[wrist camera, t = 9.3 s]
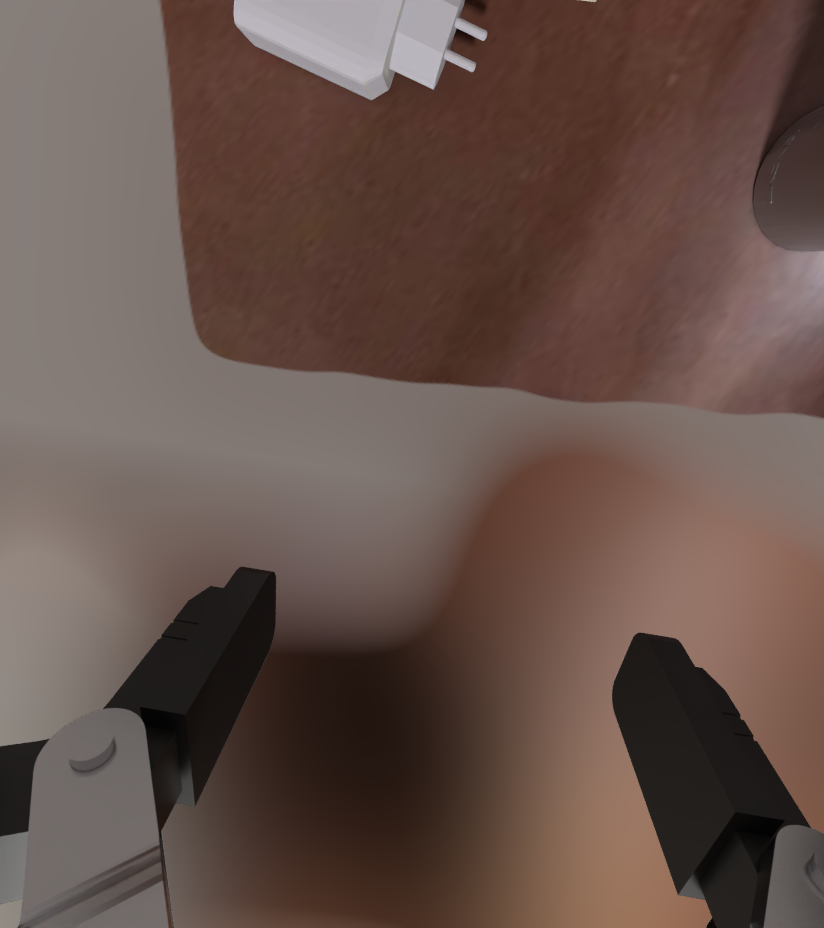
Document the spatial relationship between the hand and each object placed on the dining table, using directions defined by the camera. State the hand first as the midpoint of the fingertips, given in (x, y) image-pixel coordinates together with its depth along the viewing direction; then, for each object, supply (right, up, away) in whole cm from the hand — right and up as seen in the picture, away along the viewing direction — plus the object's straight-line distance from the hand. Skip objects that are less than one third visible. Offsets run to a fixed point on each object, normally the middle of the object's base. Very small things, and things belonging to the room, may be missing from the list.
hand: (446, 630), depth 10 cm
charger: (-3, +34, +22) cm, 41 cm away
